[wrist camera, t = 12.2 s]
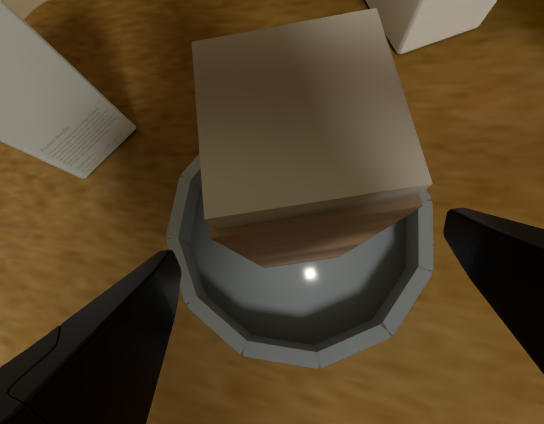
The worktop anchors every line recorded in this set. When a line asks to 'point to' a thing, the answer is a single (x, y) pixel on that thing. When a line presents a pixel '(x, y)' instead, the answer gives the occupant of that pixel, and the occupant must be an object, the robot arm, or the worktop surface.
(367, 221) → the walnut block
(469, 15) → the medicine bottle
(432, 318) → the worktop surface
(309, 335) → the slate dish
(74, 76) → the skincare box
